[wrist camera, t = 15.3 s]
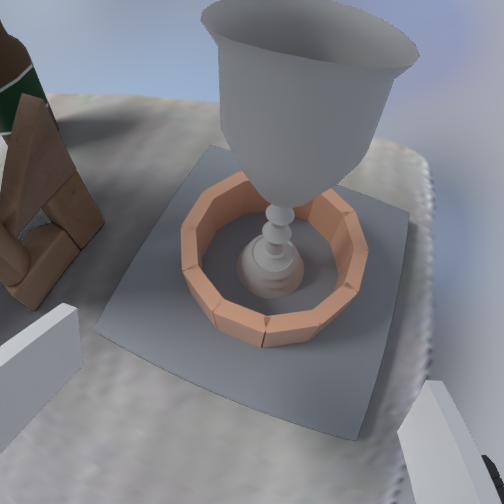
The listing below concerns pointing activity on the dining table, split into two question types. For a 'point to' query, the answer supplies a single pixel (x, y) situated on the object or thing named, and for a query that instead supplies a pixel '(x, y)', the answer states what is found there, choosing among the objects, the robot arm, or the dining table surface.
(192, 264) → the ceramic collar
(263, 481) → the dining table surface
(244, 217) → the slate board
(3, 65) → the beer bottle
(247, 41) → the chalice
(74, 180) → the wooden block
